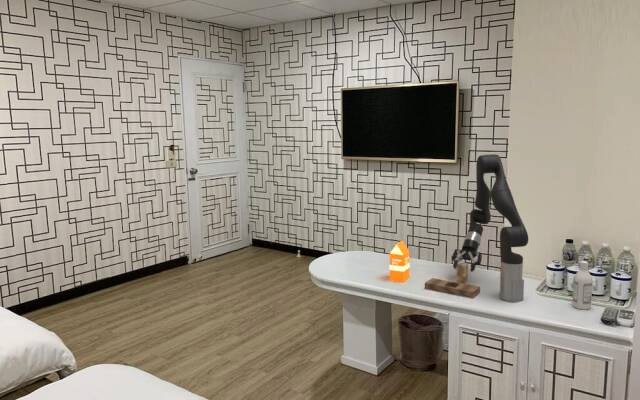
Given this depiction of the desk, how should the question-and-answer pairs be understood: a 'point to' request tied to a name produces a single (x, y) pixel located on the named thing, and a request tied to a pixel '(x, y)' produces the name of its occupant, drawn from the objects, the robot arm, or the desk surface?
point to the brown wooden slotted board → (452, 288)
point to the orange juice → (399, 263)
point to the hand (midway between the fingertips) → (463, 269)
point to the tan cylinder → (462, 273)
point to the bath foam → (582, 287)
